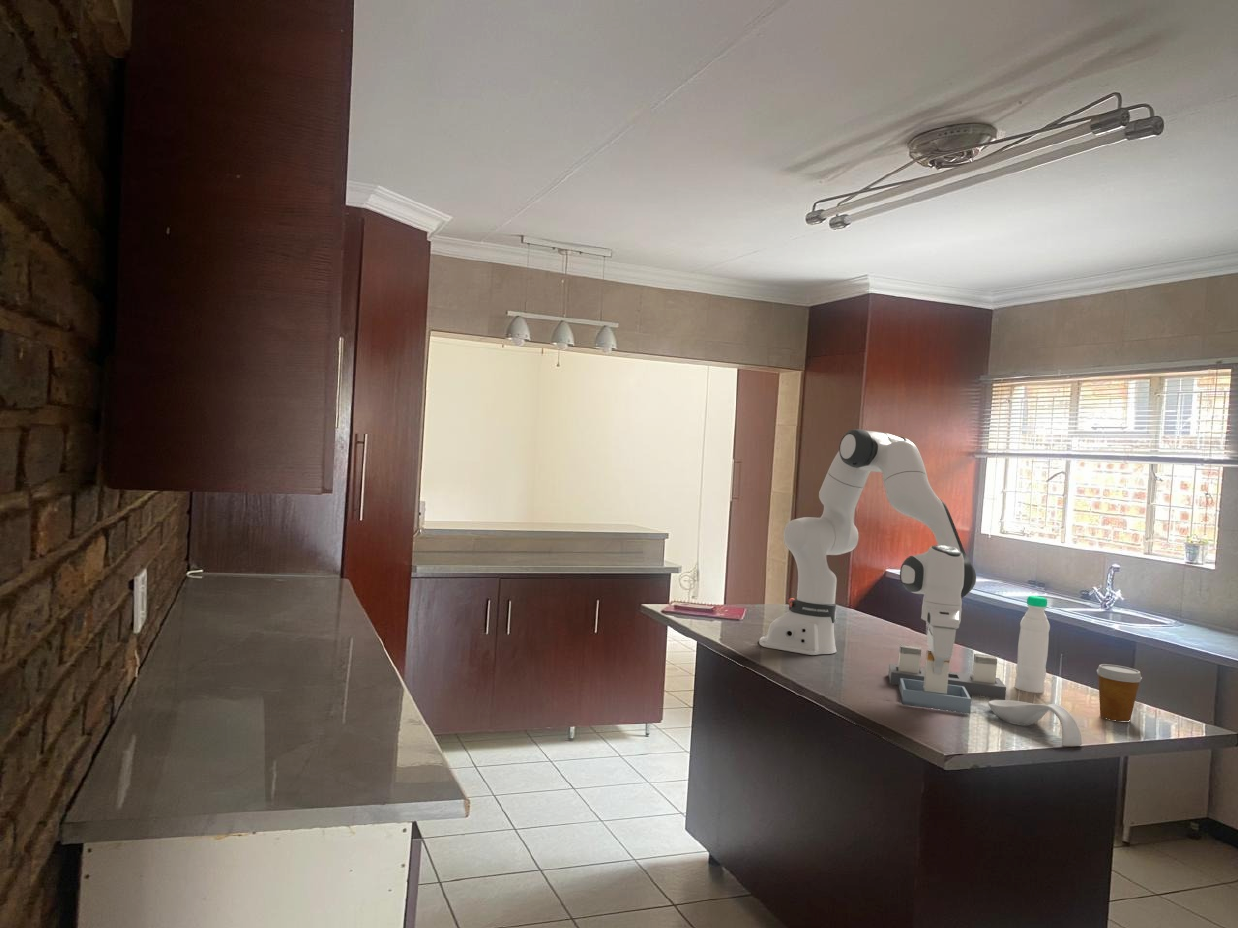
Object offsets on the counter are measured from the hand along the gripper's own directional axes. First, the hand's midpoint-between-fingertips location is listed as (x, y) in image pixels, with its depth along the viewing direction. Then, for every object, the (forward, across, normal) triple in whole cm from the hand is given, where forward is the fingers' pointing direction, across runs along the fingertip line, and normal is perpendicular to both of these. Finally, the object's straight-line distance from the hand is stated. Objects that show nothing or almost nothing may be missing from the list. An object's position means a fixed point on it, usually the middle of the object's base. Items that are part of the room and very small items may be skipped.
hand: (936, 671), depth 215 cm
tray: (+8, 0, 0) cm, 8 cm away
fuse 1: (+6, -14, -5) cm, 16 cm away
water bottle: (+8, -25, +26) cm, 37 cm away
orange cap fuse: (+5, 0, 0) cm, 5 cm away
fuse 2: (+6, -14, +13) cm, 20 cm away
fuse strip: (+8, -14, +4) cm, 16 cm away
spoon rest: (+8, +11, +20) cm, 24 cm away
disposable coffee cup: (+8, -9, +42) cm, 44 cm away
